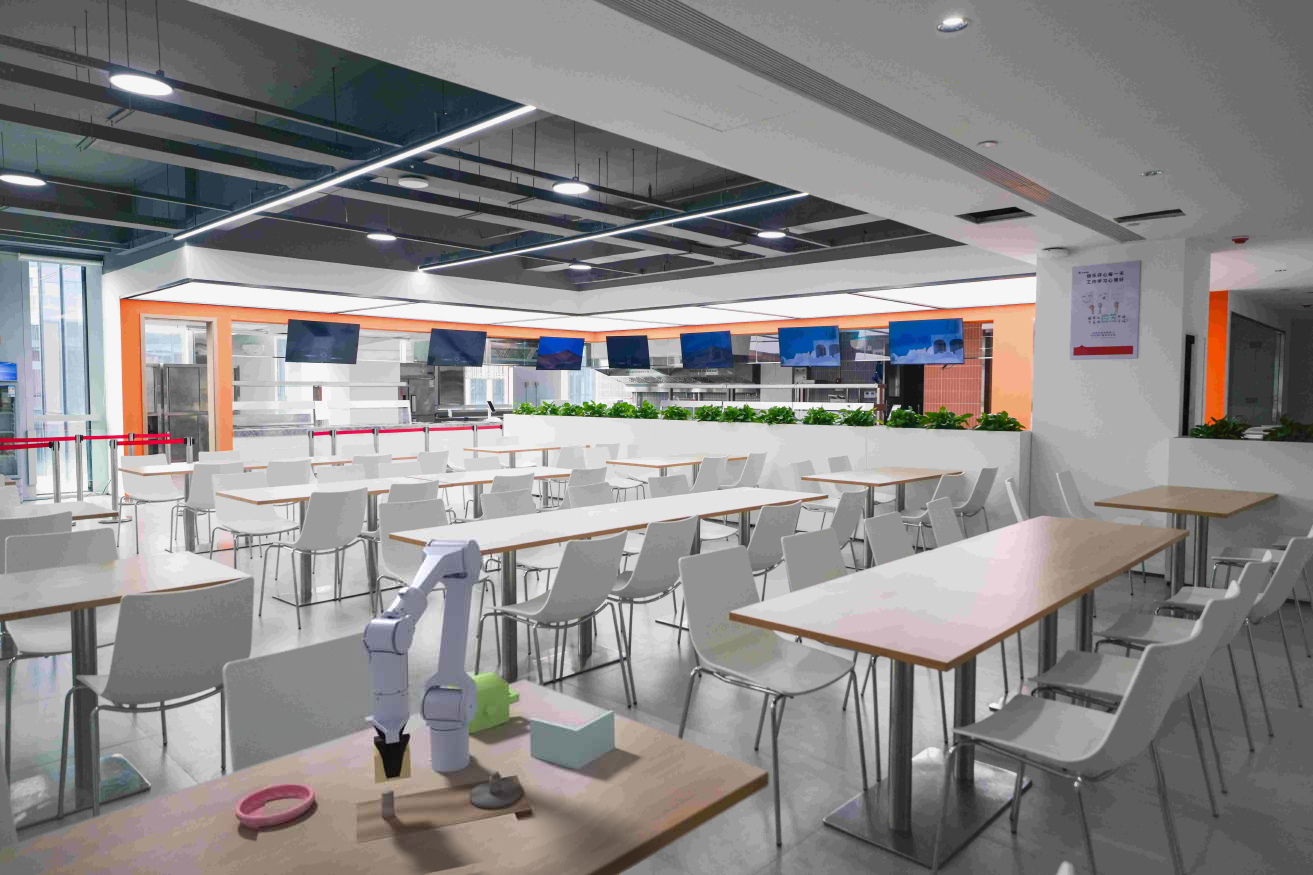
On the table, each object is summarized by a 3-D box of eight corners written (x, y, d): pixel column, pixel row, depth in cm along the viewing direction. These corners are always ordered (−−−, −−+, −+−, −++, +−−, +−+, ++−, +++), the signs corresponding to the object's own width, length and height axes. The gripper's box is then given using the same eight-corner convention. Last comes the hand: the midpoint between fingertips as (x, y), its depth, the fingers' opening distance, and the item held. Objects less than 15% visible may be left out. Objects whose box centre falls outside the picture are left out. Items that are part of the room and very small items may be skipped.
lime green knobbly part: (450, 745, 169) (449, 701, 168) (430, 729, 176) (428, 687, 176) (525, 720, 180) (524, 679, 180) (503, 707, 188) (502, 667, 187)
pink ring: (235, 843, 131) (234, 823, 131) (235, 810, 142) (235, 792, 142) (318, 823, 137) (317, 805, 137) (312, 793, 148) (311, 776, 148)
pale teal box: (614, 747, 165) (614, 710, 165) (577, 769, 155) (576, 730, 155) (569, 735, 171) (568, 700, 171) (530, 756, 161) (529, 718, 161)
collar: (374, 769, 138) (373, 743, 138) (408, 763, 140) (408, 737, 140) (375, 783, 133) (374, 756, 133) (410, 777, 135) (409, 750, 134)
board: (356, 808, 141) (355, 779, 141) (516, 780, 151) (516, 752, 151) (356, 848, 128) (355, 816, 128) (532, 814, 138) (531, 784, 137)
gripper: (364, 679, 141) (366, 755, 142) (364, 707, 128) (367, 791, 128) (406, 673, 144) (409, 749, 144) (411, 700, 130) (414, 784, 131)
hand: (392, 768), depth 136 cm, fingers closed on collar, 6 cm apart
